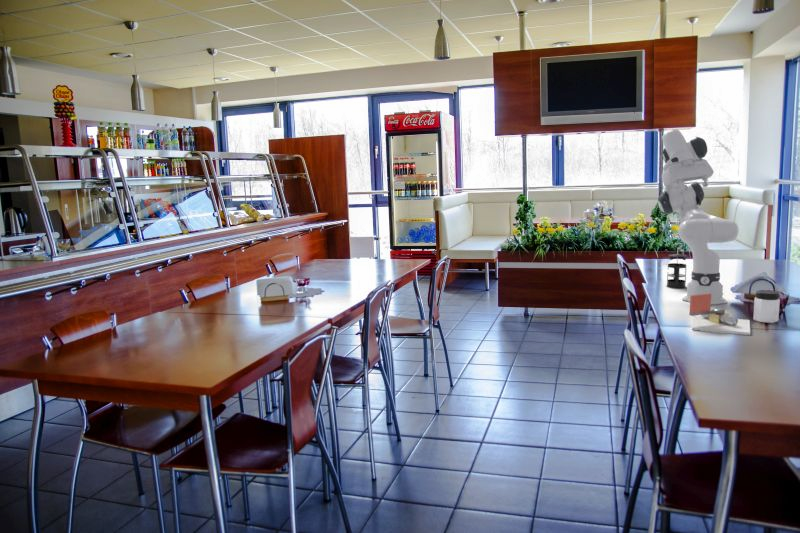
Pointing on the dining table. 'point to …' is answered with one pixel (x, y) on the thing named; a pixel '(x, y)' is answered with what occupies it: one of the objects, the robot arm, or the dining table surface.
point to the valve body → (721, 318)
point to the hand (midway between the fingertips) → (696, 187)
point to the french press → (676, 271)
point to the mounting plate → (721, 326)
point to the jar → (766, 306)
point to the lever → (702, 305)
